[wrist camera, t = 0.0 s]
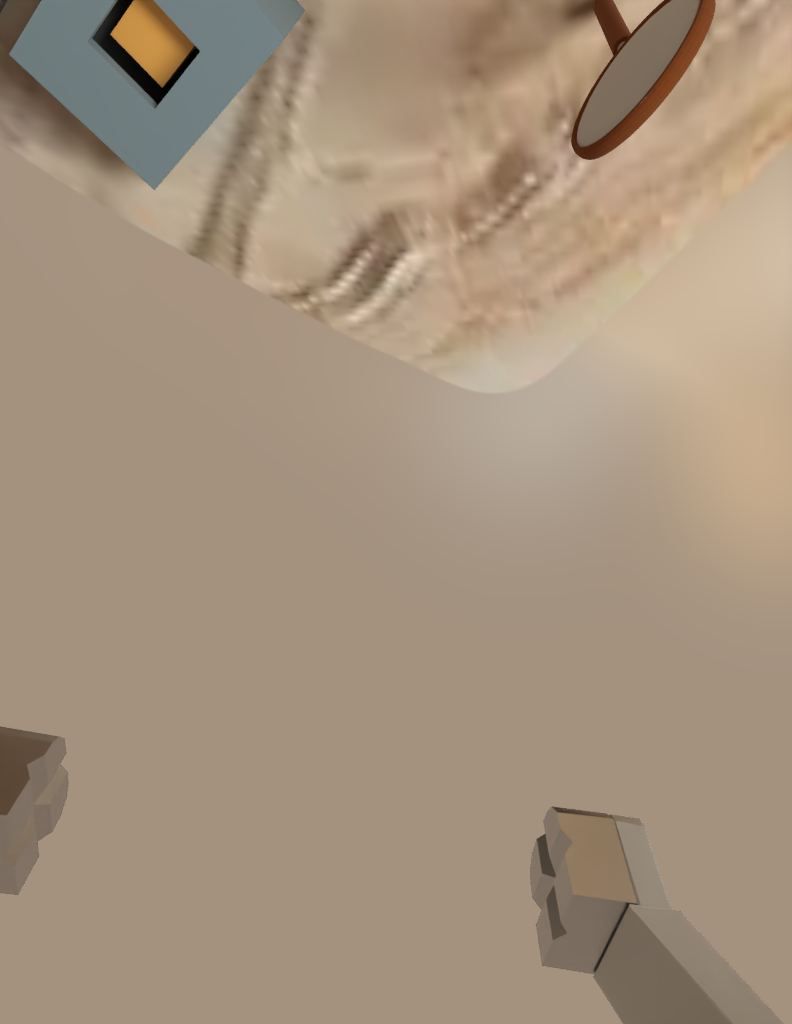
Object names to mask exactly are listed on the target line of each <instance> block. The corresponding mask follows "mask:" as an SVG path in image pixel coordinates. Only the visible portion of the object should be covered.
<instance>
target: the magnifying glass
mask: <svg viewBox="0 0 792 1024" xmlns="http://www.w3.org/2000/svg"><path fill="white" fill-rule="evenodd" d="M715 5H716V4H715V0H664V1H663V2H662V3H661V4H659V5H658V6H657V7H656V8H655V9H654V10H653V11H652V12H651V13H650V14H649V15H648V16H647V17H646V18H645V19H644V20H643V21H642V22H641V23H640V24H639V26H638V27H637V28H636V29H635V30H634V31H633V32H632V34H631V33H630V32H629V30H628V28H627V26H626V24H625V22H624V20H623V18H622V17H621V15H620V13H619V11H618V9H617V7H616V5H615V3H614V2H613V0H597V1H596V3H595V6H594V11H595V14H596V16H597V19H598V21H599V23H600V25H601V28H602V30H603V32H604V35H605V37H606V39H607V42H608V44H609V46H610V48H611V51H612V53H613V55H614V56H613V57H612V59H611V60H610V62H609V63H608V64H607V66H606V67H605V69H604V70H603V72H602V73H601V75H600V76H599V78H598V79H597V81H596V83H595V84H594V86H593V88H592V89H591V91H590V93H589V94H588V96H587V98H586V100H585V102H584V104H583V106H582V108H581V110H580V112H579V115H578V117H577V119H576V122H575V125H574V129H573V133H572V139H571V143H572V147H573V149H574V151H575V153H576V154H577V155H578V156H580V157H581V158H583V159H588V160H592V159H597V158H599V157H601V156H603V155H605V154H607V153H609V152H610V151H612V150H613V149H615V148H616V147H617V146H619V145H620V144H621V143H623V142H624V141H625V140H626V139H627V138H629V137H630V136H631V135H632V134H633V133H634V132H635V131H636V130H637V129H638V128H639V127H640V126H641V125H642V124H643V123H644V122H645V121H646V120H647V119H648V118H649V117H650V116H651V115H652V114H653V112H654V111H655V110H656V109H657V108H658V107H659V106H660V104H661V103H662V102H663V101H664V100H665V98H666V97H667V96H668V95H669V93H670V92H671V91H672V89H673V88H674V87H675V85H676V84H677V83H678V81H679V80H680V78H681V77H682V76H683V74H684V73H685V71H686V70H687V68H688V67H689V65H690V64H691V62H692V60H693V59H694V57H695V55H696V54H697V52H698V50H699V48H700V46H701V45H702V43H703V41H704V39H705V36H706V34H707V32H708V30H709V27H710V25H711V22H712V19H713V16H714V12H715Z"/></svg>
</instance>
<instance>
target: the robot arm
mask: <svg viewBox="0 0 792 1024" xmlns="http://www.w3.org/2000/svg"><path fill="white" fill-rule="evenodd" d="M65 754H66V747H65V739H64V738H61V737H58V736H52V735H47V734H41V733H34V732H29V731H23V730H17V729H12V728H6V727H0V893H5V894H14V895H18V894H19V892H20V890H21V888H22V886H23V885H24V883H25V881H26V879H27V877H28V875H29V874H30V872H31V870H32V868H33V866H34V865H35V863H36V861H37V859H38V857H39V852H38V842H37V841H39V840H40V839H42V838H43V837H45V836H46V835H48V834H50V833H51V832H52V831H53V829H54V827H55V826H56V824H57V822H58V820H59V818H60V816H61V813H62V810H63V807H64V803H65V801H66V798H67V791H68V772H67V771H66V770H65V769H64V768H63V767H62V765H61V764H60V763H61V761H62V760H63V758H64V756H65ZM544 827H545V834H544V835H542V836H541V837H539V838H538V839H537V840H536V843H535V846H534V849H533V852H532V859H531V867H530V879H531V890H532V898H533V899H534V901H535V902H536V903H537V905H538V906H539V907H540V909H541V910H542V911H541V914H540V916H539V919H538V921H537V924H536V927H537V933H538V940H539V948H540V954H541V961H542V966H548V967H554V968H560V969H566V970H572V971H578V972H584V973H591V974H594V976H593V977H594V979H595V980H596V982H597V983H598V985H599V987H600V988H601V990H602V991H603V993H604V994H605V996H606V997H607V999H608V1001H609V1002H610V1004H611V1005H612V1007H613V1008H614V1010H615V1012H616V1013H617V1015H618V1016H619V1018H620V1019H621V1021H622V1022H623V1024H784V1023H783V1022H782V1021H781V1020H780V1019H779V1018H778V1017H777V1016H776V1015H775V1013H774V1012H773V1011H772V1010H771V1009H770V1008H769V1007H768V1006H767V1005H766V1004H765V1003H764V1002H763V1001H762V999H760V997H759V996H758V995H757V994H756V993H755V992H754V991H753V990H752V988H751V987H750V986H749V985H748V984H747V983H746V982H745V981H744V980H743V979H742V978H741V977H740V975H739V974H738V973H737V972H736V971H735V970H734V969H733V968H732V967H731V966H730V965H729V963H728V962H726V960H725V959H724V958H723V957H722V956H721V955H720V954H719V953H718V952H717V951H716V949H715V948H714V947H713V946H712V945H711V944H710V943H709V942H708V941H707V940H706V938H705V937H704V936H703V935H702V934H701V933H700V932H699V931H698V930H697V929H696V928H695V927H694V925H693V924H692V923H691V922H690V921H689V920H688V919H687V918H686V917H685V916H684V915H683V913H682V912H681V911H675V910H672V909H671V906H670V903H669V900H668V897H667V894H666V891H665V888H664V885H663V881H662V879H661V875H660V872H659V869H658V866H657V863H656V860H655V857H654V854H653V851H652V848H651V845H650V842H649V838H648V835H647V832H646V829H645V826H644V824H643V823H642V821H641V820H640V819H638V818H630V817H624V816H617V815H608V814H605V813H597V812H589V811H582V810H575V809H567V808H559V807H551V808H550V809H549V810H548V811H547V814H546V816H545V819H544Z"/></svg>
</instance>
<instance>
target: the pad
mask: <svg viewBox="0 0 792 1024" xmlns="http://www.w3.org/2000/svg"><path fill="white" fill-rule="evenodd" d="M6 2H7V0H0V12H1V10H2V9H3V7H4V5H5V3H6Z"/></svg>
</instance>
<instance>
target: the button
mask: <svg viewBox="0 0 792 1024" xmlns="http://www.w3.org/2000/svg"><path fill="white" fill-rule="evenodd" d="M110 35H111V36H112V37H113V38H114V39H115V40H116V41H117V42H118V43H119V44H120V45H121V46H122V47H123V48H124V49H125V50H126V51H127V52H128V53H129V54H130V55H131V56H132V57H133V58H134V59H135V60H136V61H137V62H138V63H139V64H140V65H141V66H142V67H143V68H144V69H145V70H146V71H147V73H148V74H149V75H150V76H151V77H152V78H153V79H154V80H155V81H156V82H157V83H158V84H159V85H160V86H161V87H162V88H163V87H164V86H165V85H166V84H167V83H168V82H169V81H170V80H171V79H172V78H173V77H174V75H175V74H176V73H177V72H178V70H179V69H180V68H181V66H182V65H183V64H184V63H185V61H186V60H187V59H188V57H189V56H190V55H191V54H192V52H193V51H194V50H195V48H196V46H195V45H194V44H193V43H192V42H191V41H190V40H189V38H188V37H187V36H186V35H185V34H184V33H183V32H182V31H181V30H180V29H179V28H178V26H177V25H176V24H175V23H174V22H173V21H172V20H171V19H170V18H169V17H168V16H167V15H166V13H165V12H164V11H163V10H162V9H161V8H160V7H159V6H158V5H157V4H156V3H155V1H154V0H134V1H133V2H132V3H131V5H130V6H129V8H128V9H127V11H126V12H125V14H124V15H123V17H122V18H121V19H120V21H119V22H118V24H117V25H116V27H115V28H114V30H113V31H112V33H111V34H110Z"/></svg>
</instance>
